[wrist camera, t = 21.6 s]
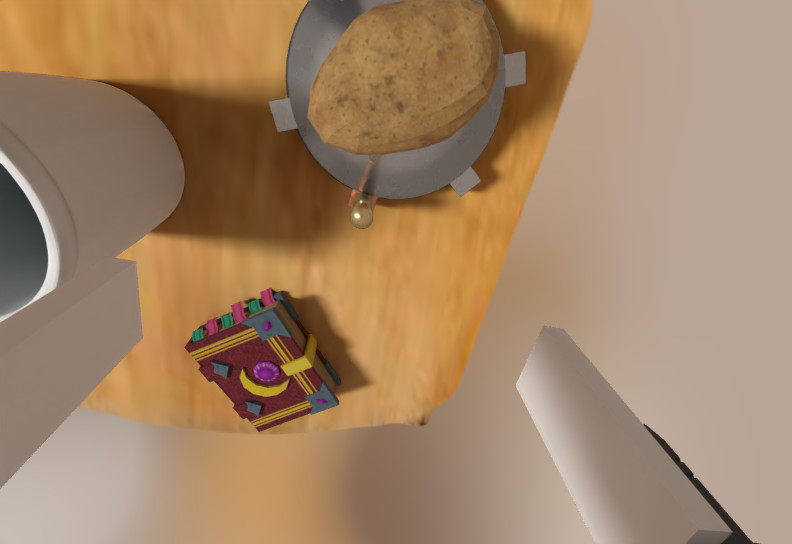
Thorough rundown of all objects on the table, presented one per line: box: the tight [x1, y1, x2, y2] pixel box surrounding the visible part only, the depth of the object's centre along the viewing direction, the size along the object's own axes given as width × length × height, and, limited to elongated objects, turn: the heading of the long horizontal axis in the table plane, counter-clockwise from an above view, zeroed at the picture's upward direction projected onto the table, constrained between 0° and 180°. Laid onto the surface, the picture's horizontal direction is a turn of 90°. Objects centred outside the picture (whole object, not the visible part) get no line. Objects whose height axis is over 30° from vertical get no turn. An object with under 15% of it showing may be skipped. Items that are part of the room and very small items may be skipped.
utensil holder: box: [0, 71, 185, 322], centre depth 26 cm, size 15×15×18 cm
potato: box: [307, 0, 499, 155], centre depth 26 cm, size 10×14×8 cm
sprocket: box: [269, 0, 526, 229], centre depth 29 cm, size 21×20×7 cm
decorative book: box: [184, 288, 341, 432], centre depth 43 cm, size 11×16×5 cm
